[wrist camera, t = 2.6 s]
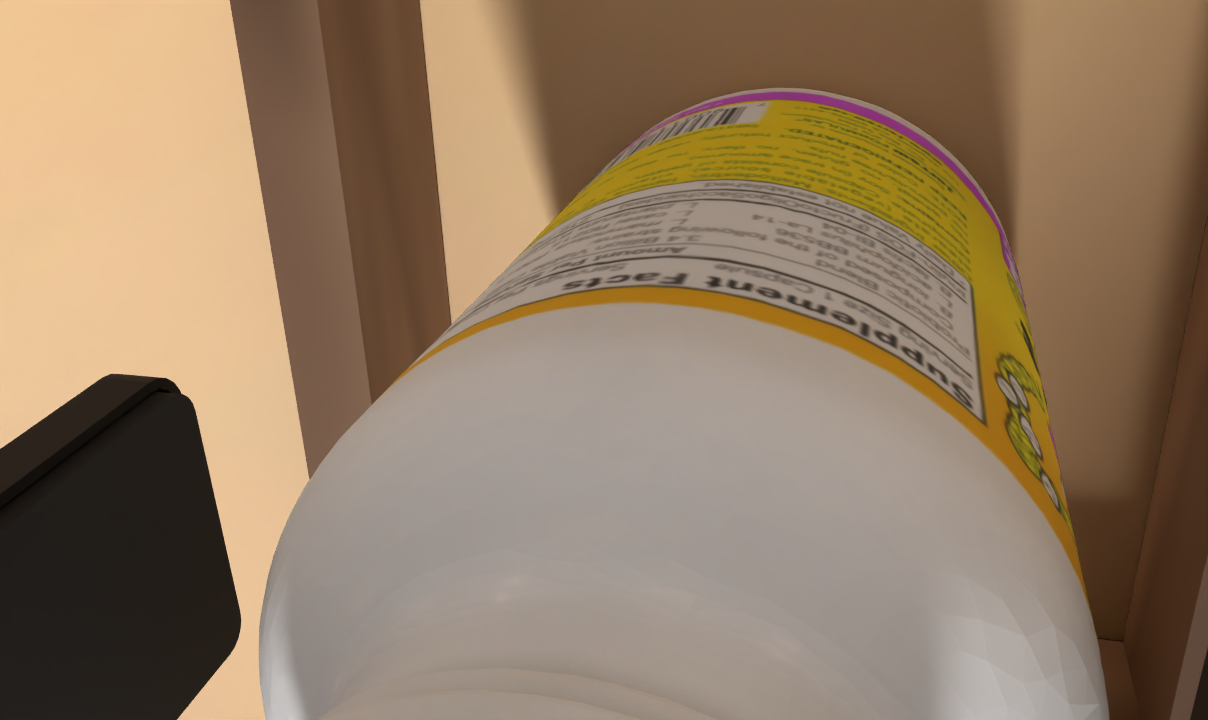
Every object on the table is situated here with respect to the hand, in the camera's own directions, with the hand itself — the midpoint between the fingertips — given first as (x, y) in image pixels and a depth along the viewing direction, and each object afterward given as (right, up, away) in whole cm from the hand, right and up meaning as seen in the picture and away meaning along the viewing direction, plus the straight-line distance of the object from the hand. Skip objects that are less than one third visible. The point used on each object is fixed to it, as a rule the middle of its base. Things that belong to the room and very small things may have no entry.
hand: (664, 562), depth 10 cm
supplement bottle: (+2, +3, +7) cm, 8 cm away
